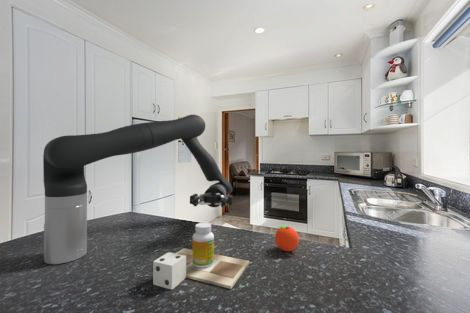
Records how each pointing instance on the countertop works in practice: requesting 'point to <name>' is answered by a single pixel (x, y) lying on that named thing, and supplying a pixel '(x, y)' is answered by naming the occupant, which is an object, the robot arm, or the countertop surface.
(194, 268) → the board
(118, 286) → the countertop surface
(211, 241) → the supplement bottle
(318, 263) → the countertop surface
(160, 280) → the die
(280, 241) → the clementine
